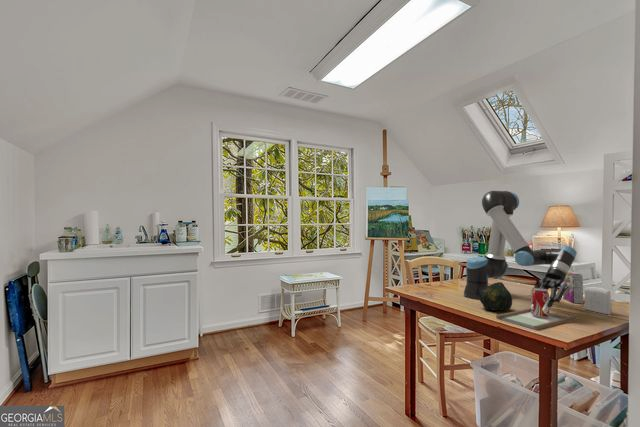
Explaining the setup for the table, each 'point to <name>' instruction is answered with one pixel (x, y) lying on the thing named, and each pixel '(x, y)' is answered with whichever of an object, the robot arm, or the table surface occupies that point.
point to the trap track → (533, 319)
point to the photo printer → (598, 300)
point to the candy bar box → (574, 288)
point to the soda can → (539, 302)
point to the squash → (496, 297)
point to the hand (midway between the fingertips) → (538, 310)
